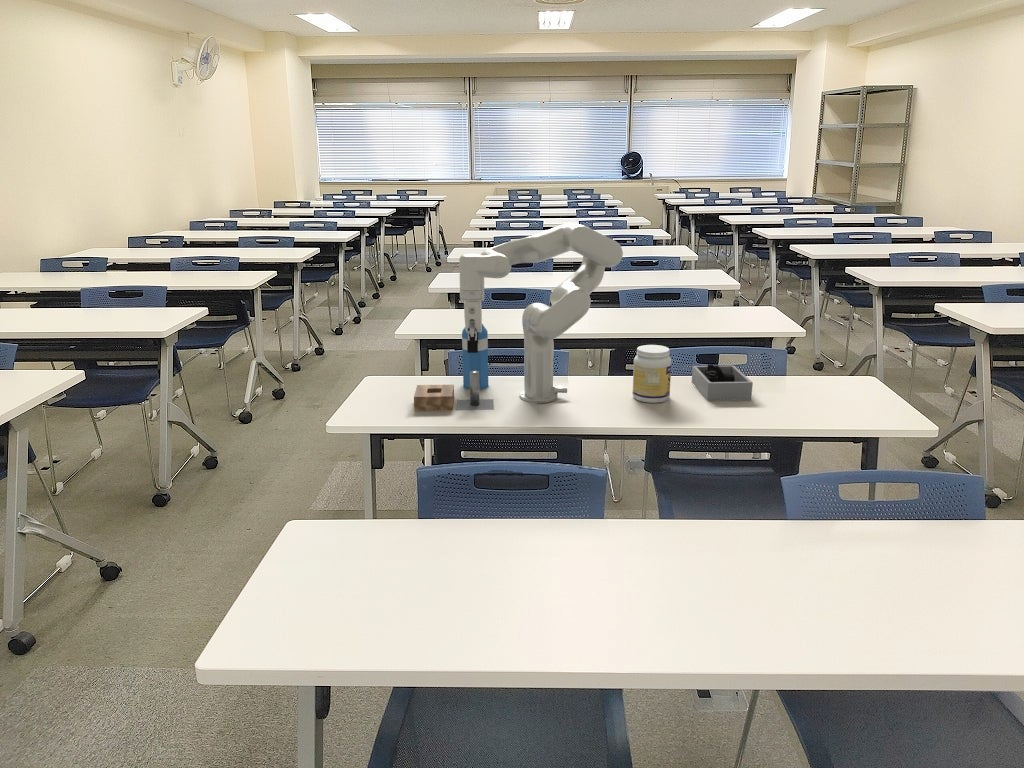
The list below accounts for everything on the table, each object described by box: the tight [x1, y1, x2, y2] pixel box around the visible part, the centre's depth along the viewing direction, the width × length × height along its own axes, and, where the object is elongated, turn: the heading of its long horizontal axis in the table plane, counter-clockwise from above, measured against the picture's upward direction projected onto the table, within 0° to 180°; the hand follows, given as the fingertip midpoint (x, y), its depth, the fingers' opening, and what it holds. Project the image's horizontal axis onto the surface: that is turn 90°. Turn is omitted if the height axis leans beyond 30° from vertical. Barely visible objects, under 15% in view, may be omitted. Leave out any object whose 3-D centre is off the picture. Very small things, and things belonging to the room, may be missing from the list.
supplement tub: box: [632, 344, 672, 404], centre depth 242 cm, size 12×12×17 cm
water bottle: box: [461, 323, 489, 390], centre depth 254 cm, size 9×9×25 cm
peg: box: [469, 370, 481, 406], centre depth 237 cm, size 3×3×11 cm
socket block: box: [413, 384, 455, 412], centre depth 238 cm, size 12×12×5 cm
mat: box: [455, 398, 495, 411], centre depth 239 cm, size 12×10×1 cm
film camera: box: [705, 363, 735, 382], centre depth 250 cm, size 15×10×9 cm, turn 168°
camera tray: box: [691, 365, 754, 402], centre depth 250 cm, size 14×20×6 cm
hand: (472, 348), depth 233 cm, fingers open, 9 cm apart
